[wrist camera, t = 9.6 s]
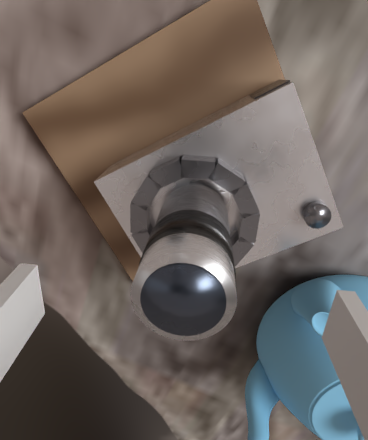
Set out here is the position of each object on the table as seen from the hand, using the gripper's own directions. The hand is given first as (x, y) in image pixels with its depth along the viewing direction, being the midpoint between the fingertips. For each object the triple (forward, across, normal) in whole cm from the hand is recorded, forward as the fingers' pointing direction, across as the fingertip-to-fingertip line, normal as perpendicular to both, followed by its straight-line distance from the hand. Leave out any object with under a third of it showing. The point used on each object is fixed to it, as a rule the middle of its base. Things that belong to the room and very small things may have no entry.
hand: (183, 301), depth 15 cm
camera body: (+16, +2, 0) cm, 16 cm away
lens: (+11, 0, -1) cm, 11 cm away
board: (+17, -1, +2) cm, 17 cm away
